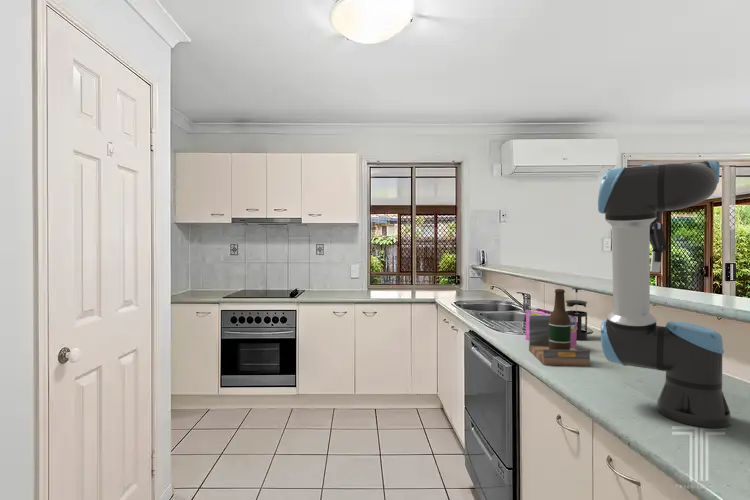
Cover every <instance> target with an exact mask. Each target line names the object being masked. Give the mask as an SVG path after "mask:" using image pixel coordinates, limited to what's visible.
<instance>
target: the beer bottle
mask: <svg viewBox="0 0 750 500" xmlns="http://www.w3.org/2000/svg"><path fill="white" fill-rule="evenodd" d="M565 293H566V292H565V289H563V288H555V290H554V294H555V295H554V306H553V310H552V313H551V315H550V317H549V349H550V350H570V319H569V316H568V314H567V313H566V311H567V310H566V304H565V302H566V300H565Z"/></svg>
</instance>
